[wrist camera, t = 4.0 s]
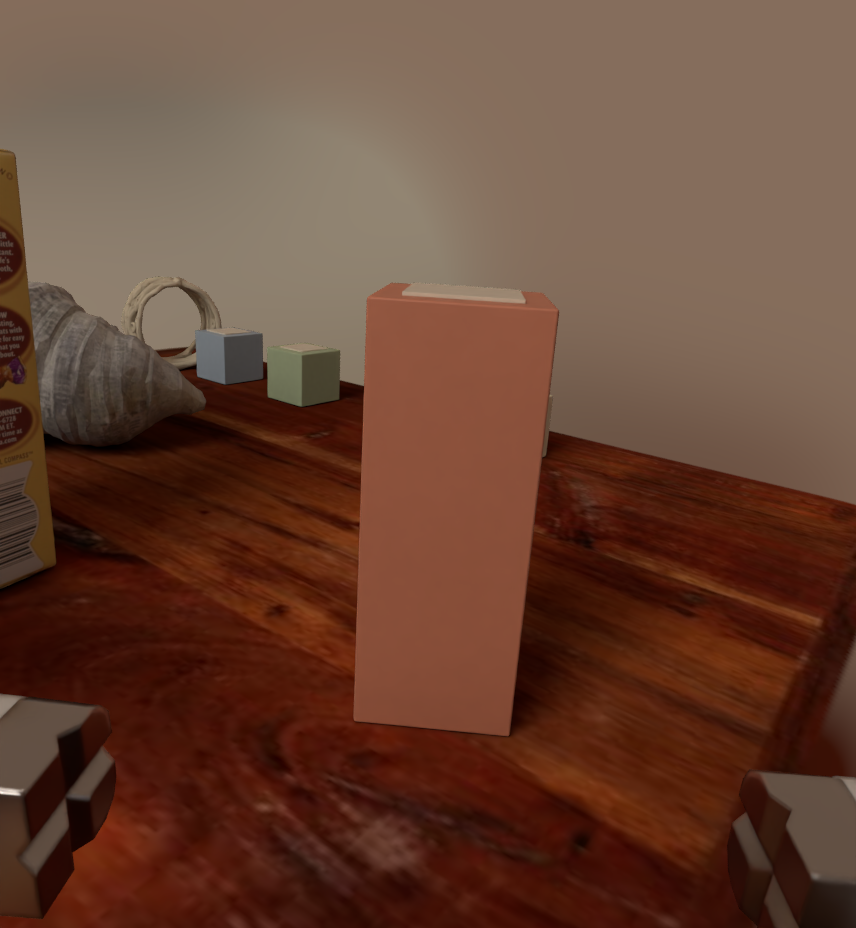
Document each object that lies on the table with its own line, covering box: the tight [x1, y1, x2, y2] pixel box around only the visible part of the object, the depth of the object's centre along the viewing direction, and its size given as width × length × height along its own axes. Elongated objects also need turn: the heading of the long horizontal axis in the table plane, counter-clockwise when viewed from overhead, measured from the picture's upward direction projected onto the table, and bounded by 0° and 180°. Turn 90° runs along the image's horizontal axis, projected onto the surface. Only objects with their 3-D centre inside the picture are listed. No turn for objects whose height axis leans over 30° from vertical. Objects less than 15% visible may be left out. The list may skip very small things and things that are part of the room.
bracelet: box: [121, 277, 221, 370], centre depth 63 cm, size 4×8×8 cm, turn 134°
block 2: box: [267, 343, 340, 407], centre depth 56 cm, size 4×4×4 cm
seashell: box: [28, 282, 206, 447], centre depth 42 cm, size 16×15×10 cm
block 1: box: [195, 327, 263, 385], centre depth 62 cm, size 4×4×4 cm
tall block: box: [354, 283, 559, 736], centre depth 21 cm, size 4×4×12 cm
